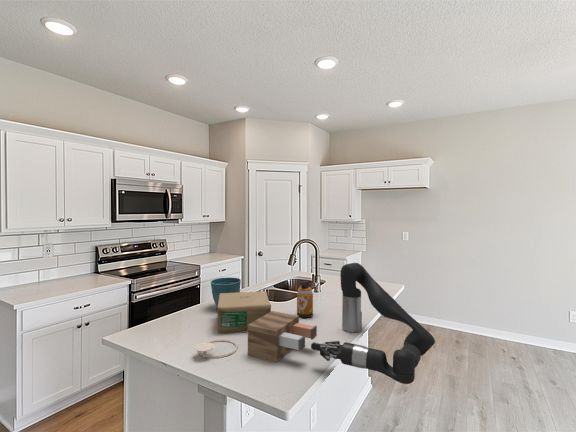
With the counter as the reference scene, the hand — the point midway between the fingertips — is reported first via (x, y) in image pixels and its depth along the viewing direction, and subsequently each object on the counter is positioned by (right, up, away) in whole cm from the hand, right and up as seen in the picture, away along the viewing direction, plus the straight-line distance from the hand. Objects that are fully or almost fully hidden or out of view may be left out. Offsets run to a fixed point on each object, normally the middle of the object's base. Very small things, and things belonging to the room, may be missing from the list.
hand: (311, 345), depth 123 cm
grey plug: (-10, -2, +6) cm, 12 cm away
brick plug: (-5, -2, +16) cm, 17 cm away
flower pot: (-47, -6, +68) cm, 83 cm away
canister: (+1, -6, +57) cm, 57 cm away
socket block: (-14, -8, +15) cm, 22 cm away
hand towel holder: (-41, -8, +13) cm, 43 cm away
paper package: (-32, -7, +45) cm, 56 cm away
